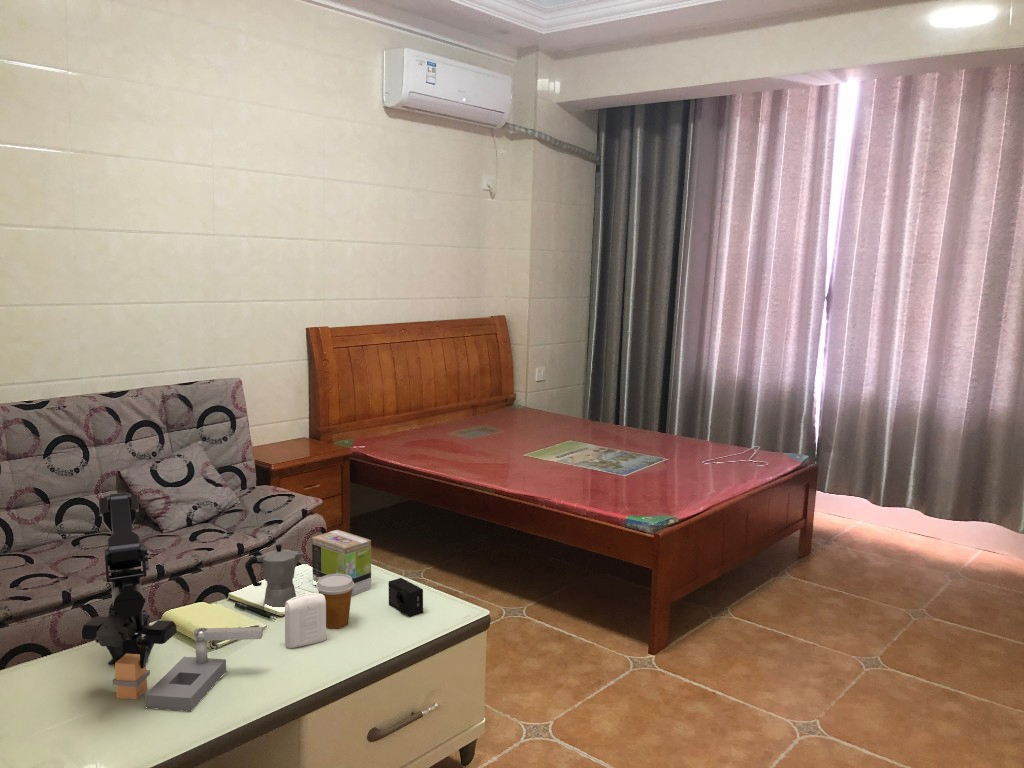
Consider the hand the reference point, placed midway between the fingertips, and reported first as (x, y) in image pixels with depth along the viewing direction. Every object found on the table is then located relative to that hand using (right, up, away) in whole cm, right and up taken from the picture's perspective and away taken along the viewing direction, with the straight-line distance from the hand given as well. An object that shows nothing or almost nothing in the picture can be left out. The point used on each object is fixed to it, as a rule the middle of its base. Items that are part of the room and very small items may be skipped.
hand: (131, 666), depth 181 cm
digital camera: (+53, 0, +46) cm, 70 cm away
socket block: (+11, -6, +3) cm, 13 cm away
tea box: (+33, +2, +60) cm, 69 cm away
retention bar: (+18, +4, +9) cm, 20 cm away
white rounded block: (+32, -3, +26) cm, 41 cm away
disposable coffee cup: (+37, -1, +36) cm, 51 cm away
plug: (0, -6, +1) cm, 6 cm away
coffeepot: (+19, 0, +44) cm, 48 cm away
